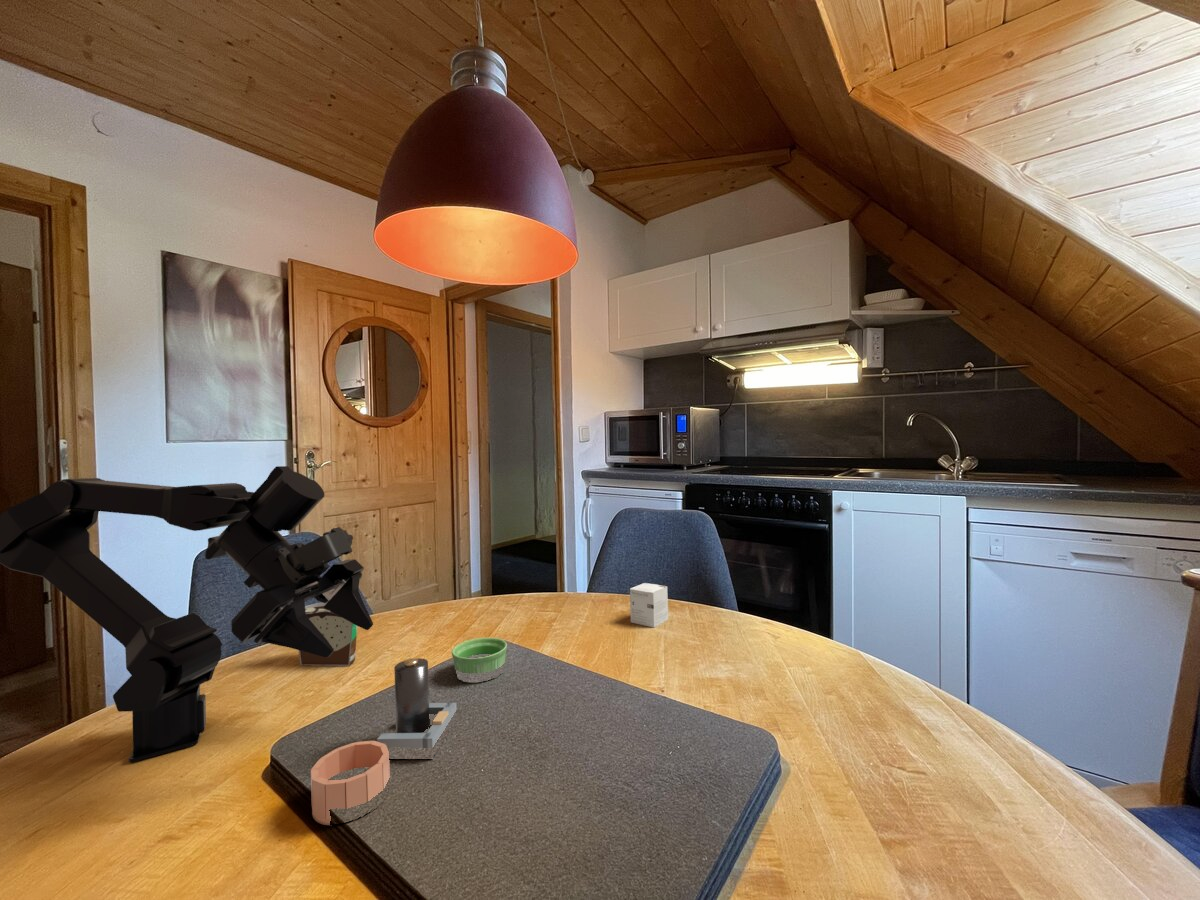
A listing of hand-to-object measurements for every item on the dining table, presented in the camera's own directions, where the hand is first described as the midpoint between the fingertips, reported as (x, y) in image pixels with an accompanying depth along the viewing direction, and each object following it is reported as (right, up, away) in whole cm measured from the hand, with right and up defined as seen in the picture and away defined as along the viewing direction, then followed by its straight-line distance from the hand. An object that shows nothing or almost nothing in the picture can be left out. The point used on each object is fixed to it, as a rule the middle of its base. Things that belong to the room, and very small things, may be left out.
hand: (352, 639), depth 62 cm
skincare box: (+43, -12, +41) cm, 60 cm away
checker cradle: (+8, -13, -1) cm, 15 cm away
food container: (-17, -14, +27) cm, 35 cm away
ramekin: (+12, -13, +18) cm, 26 cm away
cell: (+8, -13, -1) cm, 15 cm away
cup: (+6, -12, -11) cm, 18 cm away
